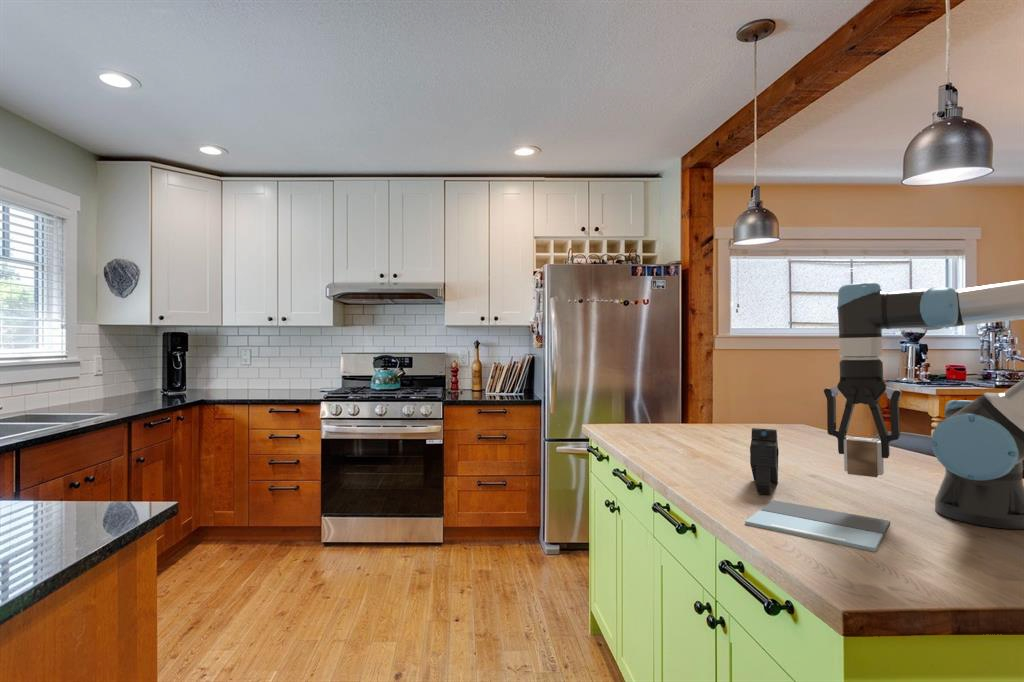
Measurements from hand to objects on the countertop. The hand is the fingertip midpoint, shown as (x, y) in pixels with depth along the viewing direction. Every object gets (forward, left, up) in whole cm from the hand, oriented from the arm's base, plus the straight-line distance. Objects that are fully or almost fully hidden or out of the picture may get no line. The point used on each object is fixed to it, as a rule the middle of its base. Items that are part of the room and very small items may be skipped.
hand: (863, 471), depth 112 cm
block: (0, 0, 0) cm, 0 cm away
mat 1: (+6, +9, -8) cm, 14 cm away
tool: (+22, -8, -9) cm, 25 cm away
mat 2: (+6, +19, -8) cm, 21 cm away
